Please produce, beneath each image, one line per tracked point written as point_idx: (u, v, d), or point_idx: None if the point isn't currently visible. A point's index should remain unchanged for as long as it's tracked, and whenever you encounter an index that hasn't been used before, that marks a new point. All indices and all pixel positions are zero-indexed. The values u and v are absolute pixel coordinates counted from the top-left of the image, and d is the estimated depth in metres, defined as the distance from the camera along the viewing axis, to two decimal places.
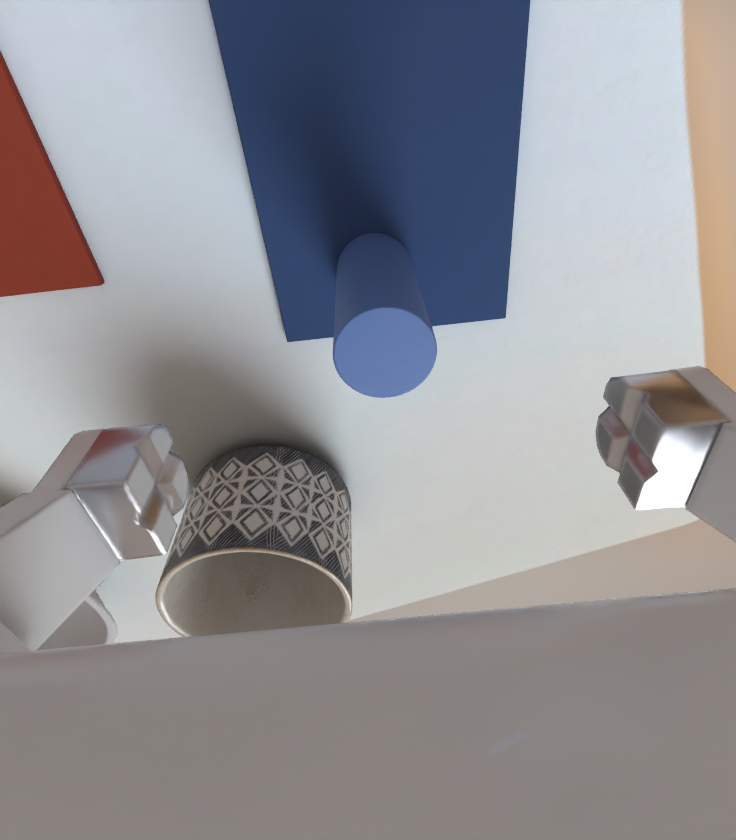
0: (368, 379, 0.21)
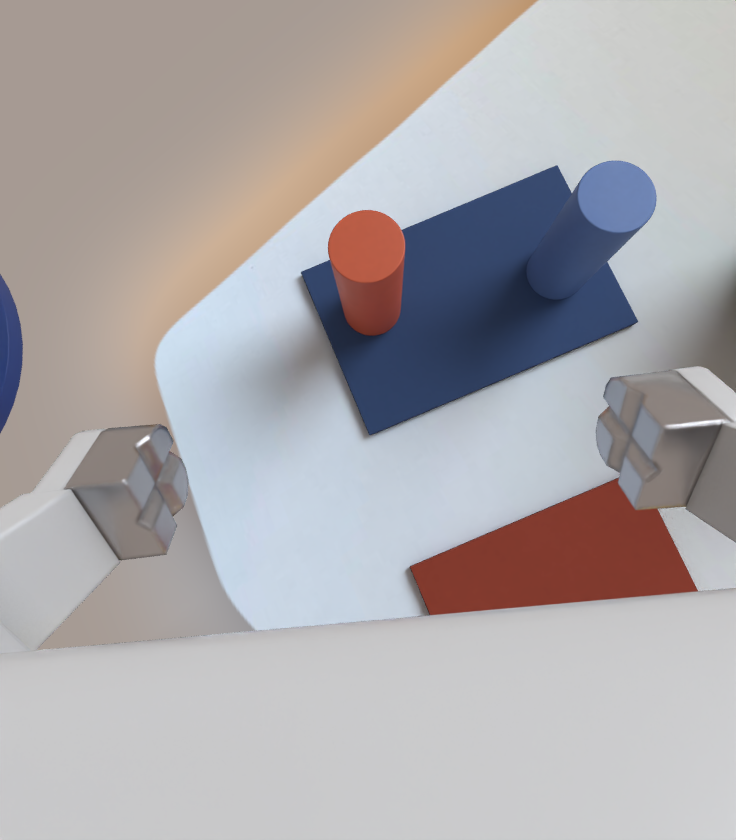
0: (641, 201, 0.27)
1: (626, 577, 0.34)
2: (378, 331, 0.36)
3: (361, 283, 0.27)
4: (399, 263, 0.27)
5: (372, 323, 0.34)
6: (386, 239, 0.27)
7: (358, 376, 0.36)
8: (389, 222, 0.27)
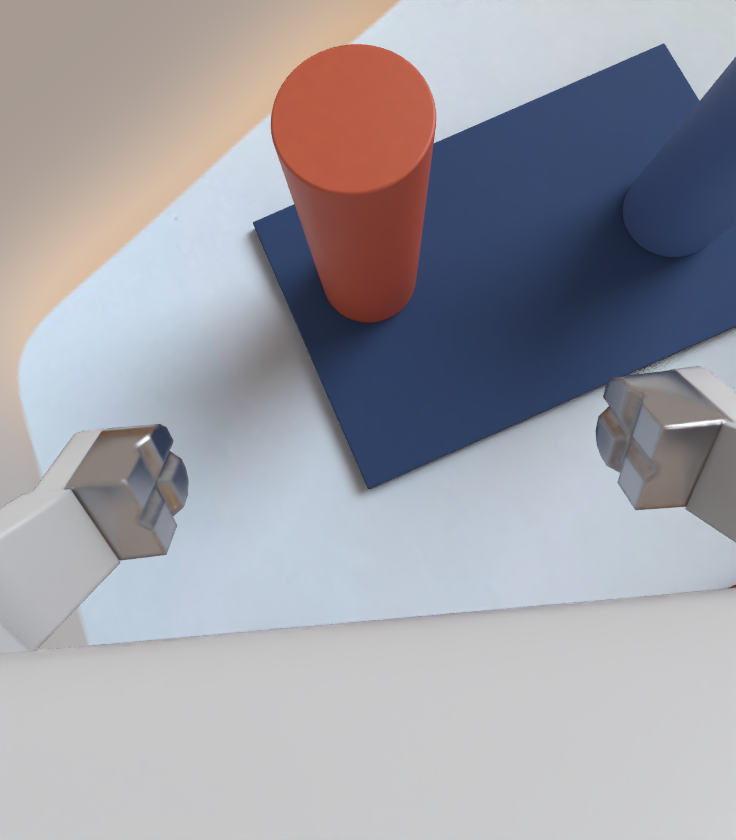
0: None
1: None
2: (379, 314, 0.21)
3: (342, 194, 0.12)
4: (424, 151, 0.12)
5: (370, 297, 0.19)
6: (394, 102, 0.13)
7: (348, 390, 0.22)
8: (399, 66, 0.13)
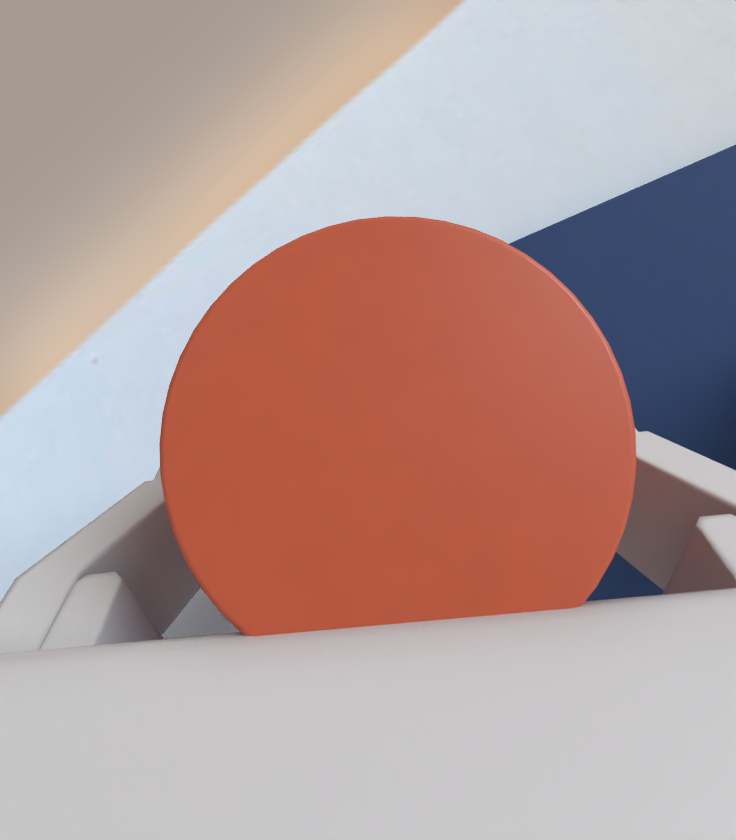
0: None
1: None
2: None
3: None
4: (607, 555, 0.04)
5: None
6: (514, 398, 0.04)
7: None
8: (526, 286, 0.04)
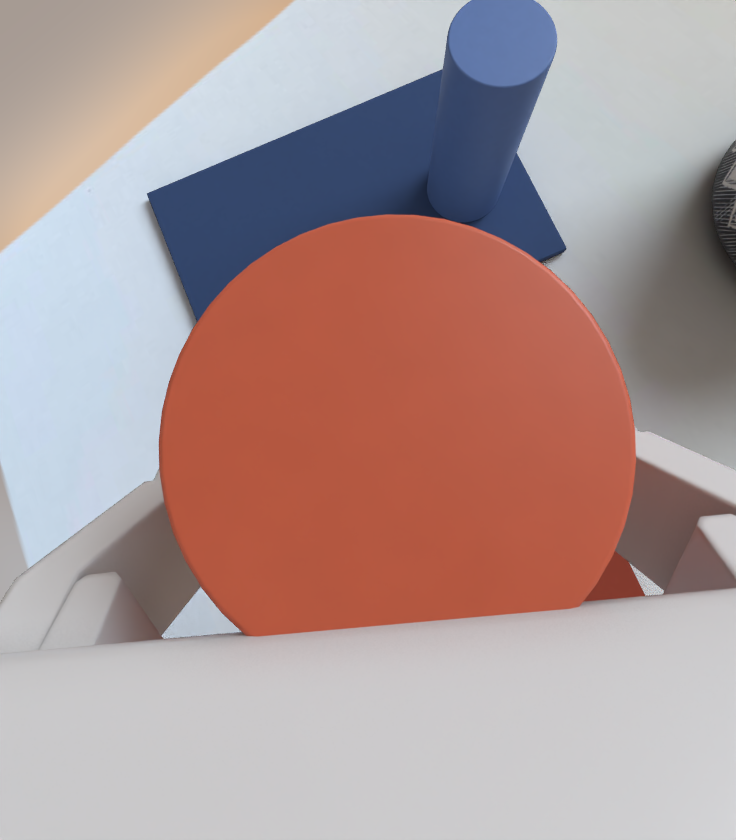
0: (536, 44, 0.19)
1: None
2: None
3: None
4: (607, 553, 0.04)
5: None
6: (513, 396, 0.04)
7: None
8: (526, 284, 0.04)
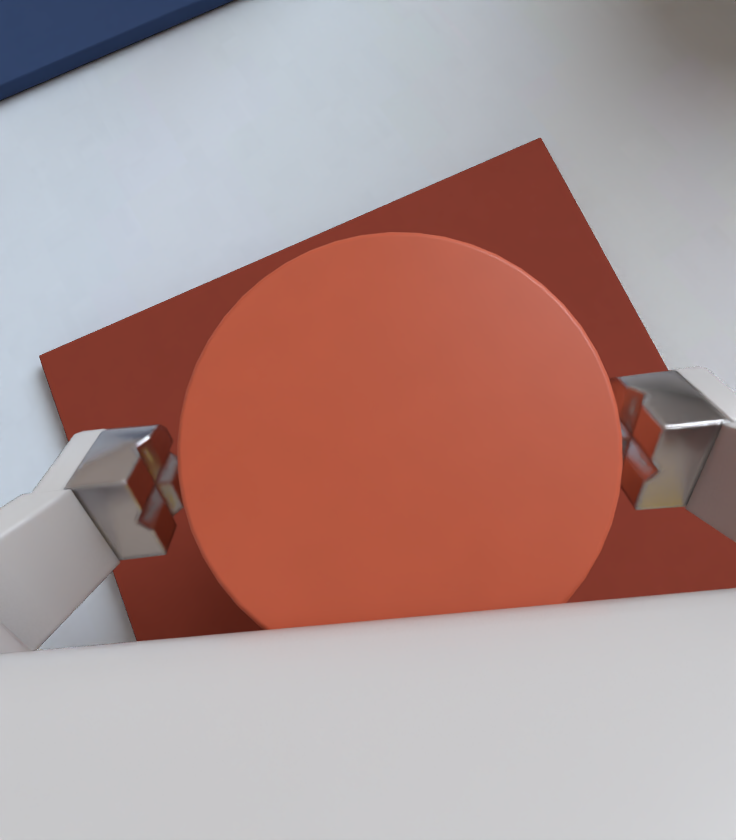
0: None
1: None
2: None
3: None
4: (596, 549, 0.04)
5: None
6: (508, 402, 0.05)
7: None
8: (519, 298, 0.05)
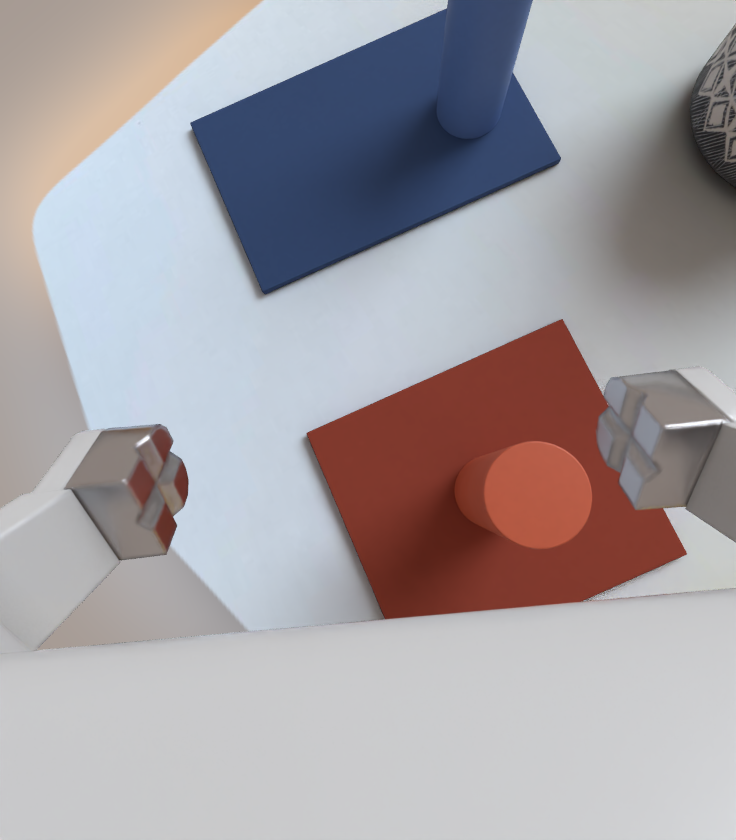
0: None
1: (549, 436, 0.30)
2: None
3: (533, 548, 0.19)
4: (585, 520, 0.19)
5: None
6: (564, 485, 0.20)
7: (251, 230, 0.33)
8: (566, 459, 0.20)
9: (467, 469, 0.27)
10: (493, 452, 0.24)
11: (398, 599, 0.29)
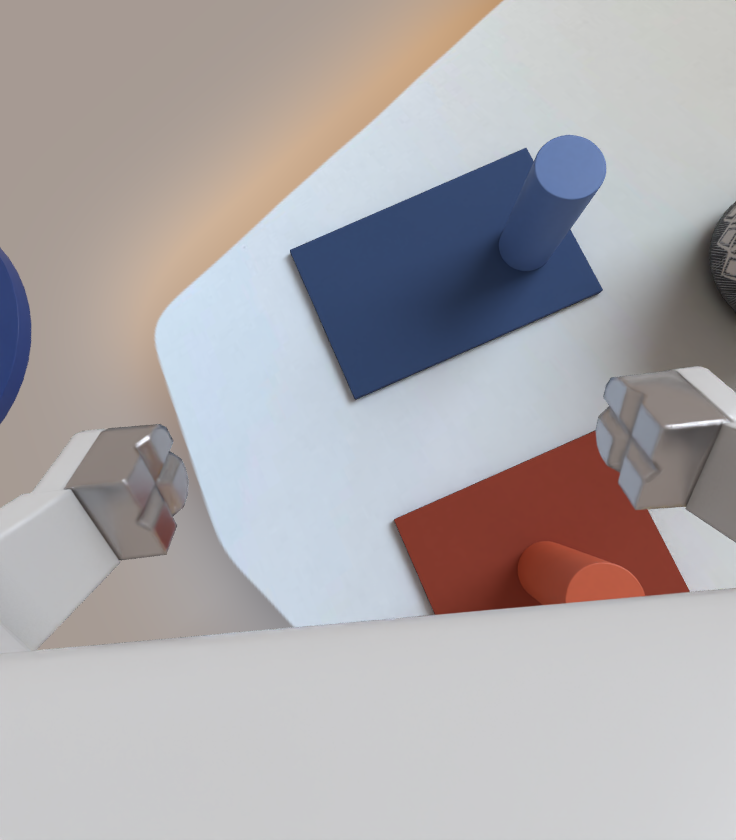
0: (592, 170, 0.30)
1: (595, 525, 0.36)
2: None
3: None
4: None
5: None
6: (626, 597, 0.26)
7: (344, 345, 0.39)
8: (627, 577, 0.26)
9: (534, 560, 0.33)
10: (561, 555, 0.30)
11: None
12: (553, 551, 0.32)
